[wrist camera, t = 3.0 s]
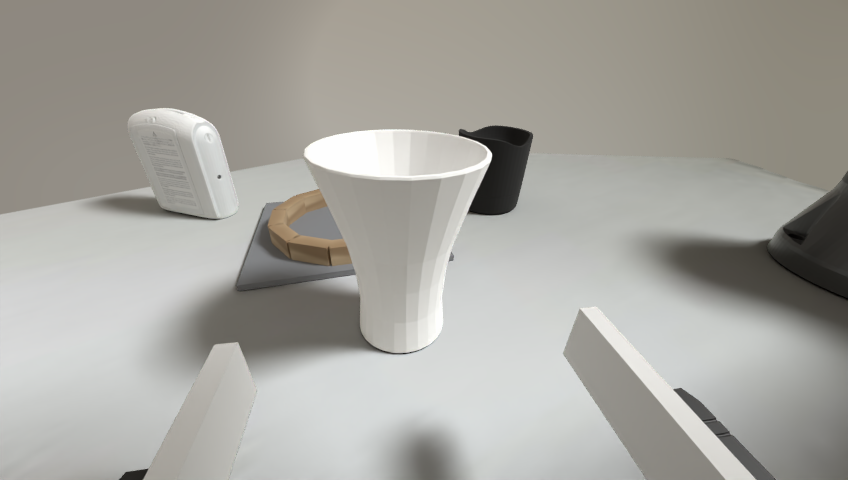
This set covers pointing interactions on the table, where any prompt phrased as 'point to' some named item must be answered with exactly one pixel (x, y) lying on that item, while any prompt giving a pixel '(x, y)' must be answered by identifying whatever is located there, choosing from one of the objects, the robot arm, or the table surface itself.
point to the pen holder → (501, 167)
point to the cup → (399, 221)
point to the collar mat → (275, 266)
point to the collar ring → (304, 245)
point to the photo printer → (184, 162)
